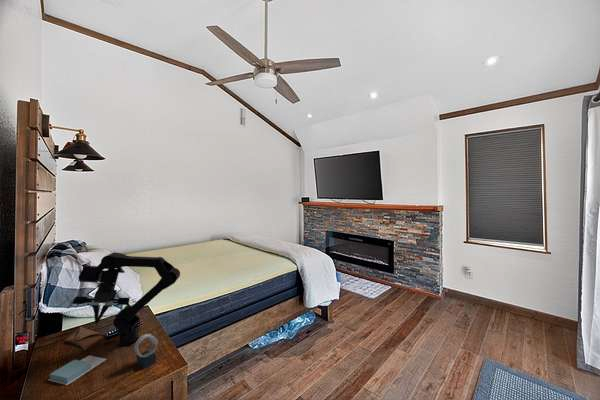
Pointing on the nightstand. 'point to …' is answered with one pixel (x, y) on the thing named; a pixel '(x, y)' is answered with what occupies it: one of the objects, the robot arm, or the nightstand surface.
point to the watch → (146, 352)
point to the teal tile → (70, 371)
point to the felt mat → (89, 359)
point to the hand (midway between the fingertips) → (96, 323)
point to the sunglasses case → (85, 338)
